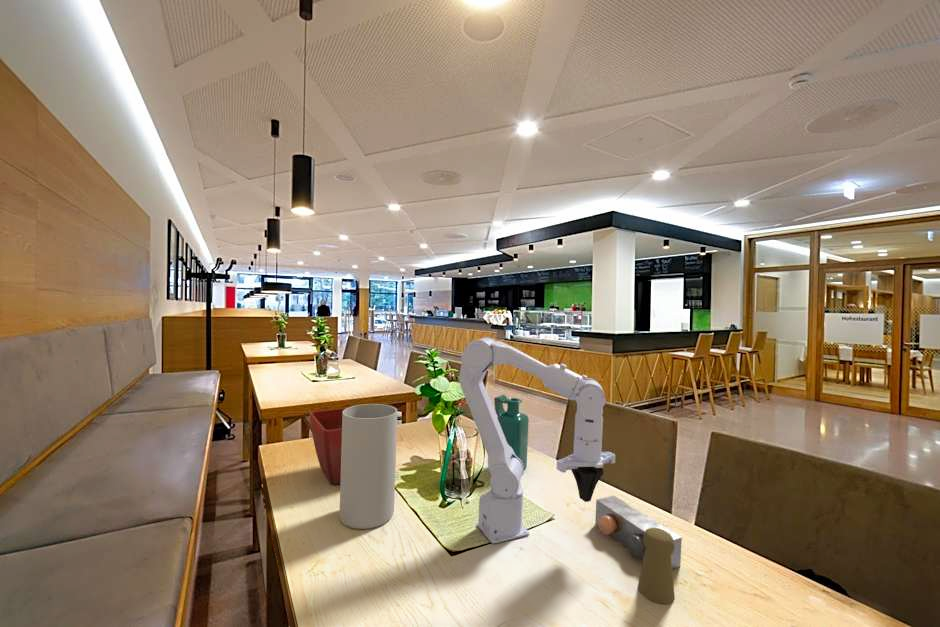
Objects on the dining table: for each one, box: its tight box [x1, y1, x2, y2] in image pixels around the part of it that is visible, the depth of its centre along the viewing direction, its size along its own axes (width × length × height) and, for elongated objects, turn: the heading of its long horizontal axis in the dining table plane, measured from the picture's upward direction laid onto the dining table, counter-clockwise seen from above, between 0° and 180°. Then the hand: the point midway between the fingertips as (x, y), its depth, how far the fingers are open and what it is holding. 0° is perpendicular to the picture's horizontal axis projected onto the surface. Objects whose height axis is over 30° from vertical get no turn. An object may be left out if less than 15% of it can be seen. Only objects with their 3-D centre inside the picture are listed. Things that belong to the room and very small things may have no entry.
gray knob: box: [626, 534, 646, 557], centre depth 81 cm, size 7×4×4 cm, turn 115°
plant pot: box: [309, 407, 347, 486], centre depth 114 cm, size 19×19×17 cm
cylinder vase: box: [339, 403, 398, 530], centre depth 92 cm, size 12×12×25 cm
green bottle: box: [493, 394, 530, 470], centre depth 122 cm, size 10×8×22 cm
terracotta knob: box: [598, 515, 617, 535], centre depth 88 cm, size 7×4×4 cm, turn 115°
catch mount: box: [594, 495, 683, 571], centre depth 85 cm, size 6×18×6 cm, turn 25°
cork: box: [637, 528, 676, 605], centre depth 71 cm, size 6×6×11 cm
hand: (585, 499), depth 84 cm, fingers closed
